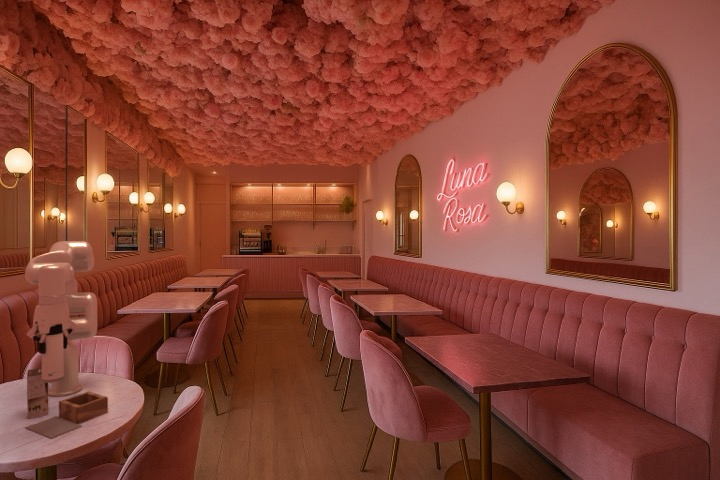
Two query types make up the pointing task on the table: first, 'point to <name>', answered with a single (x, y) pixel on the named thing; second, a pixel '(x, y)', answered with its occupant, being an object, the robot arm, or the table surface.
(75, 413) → the frame
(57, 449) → the table surface
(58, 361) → the travel mug
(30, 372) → the coffee box
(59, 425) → the rubber mat
